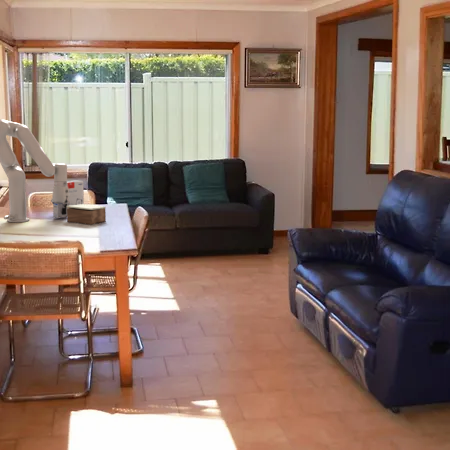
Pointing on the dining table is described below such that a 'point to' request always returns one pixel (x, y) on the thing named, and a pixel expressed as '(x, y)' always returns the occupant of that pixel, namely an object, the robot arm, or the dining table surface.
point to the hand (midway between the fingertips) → (60, 213)
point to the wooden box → (86, 216)
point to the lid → (85, 207)
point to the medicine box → (58, 210)
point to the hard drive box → (76, 192)
